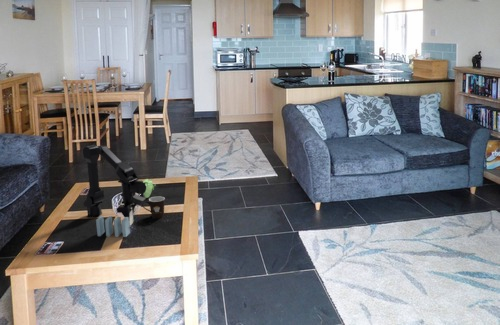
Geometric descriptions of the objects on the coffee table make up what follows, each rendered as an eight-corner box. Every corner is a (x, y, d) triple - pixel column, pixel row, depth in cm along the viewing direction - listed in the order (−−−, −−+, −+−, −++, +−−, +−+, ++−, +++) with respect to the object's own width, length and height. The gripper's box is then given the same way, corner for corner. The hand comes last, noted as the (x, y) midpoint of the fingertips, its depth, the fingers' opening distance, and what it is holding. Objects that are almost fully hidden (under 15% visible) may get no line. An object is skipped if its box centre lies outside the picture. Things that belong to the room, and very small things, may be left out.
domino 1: (97, 236, 224) (95, 220, 222) (101, 231, 229) (100, 216, 227) (100, 236, 224) (99, 220, 222) (104, 232, 229) (103, 216, 227)
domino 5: (127, 225, 237) (125, 210, 235) (130, 221, 242) (129, 206, 239) (130, 225, 237) (128, 210, 235) (133, 221, 242) (132, 206, 239)
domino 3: (115, 236, 223) (113, 220, 221) (118, 232, 228) (117, 216, 226) (118, 236, 223) (116, 220, 221) (122, 232, 228) (120, 216, 226)
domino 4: (123, 236, 223) (121, 220, 221) (126, 232, 228) (125, 217, 226) (126, 237, 223) (124, 220, 221) (129, 232, 228) (128, 217, 226)
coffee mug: (168, 214, 252) (167, 197, 249) (160, 219, 244) (159, 202, 241) (150, 211, 256) (149, 195, 253) (142, 217, 248) (140, 200, 245)
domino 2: (106, 236, 224) (104, 220, 222) (110, 232, 229) (108, 216, 226) (109, 236, 224) (108, 220, 222) (113, 232, 229) (111, 216, 226)
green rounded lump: (154, 200, 274) (153, 183, 271) (136, 200, 274) (135, 183, 271) (158, 193, 286) (157, 177, 283) (140, 194, 286) (139, 177, 283)
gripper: (136, 197, 225) (139, 226, 229) (148, 185, 243) (150, 213, 247) (115, 196, 226) (117, 226, 230) (128, 185, 244) (130, 212, 248)
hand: (129, 219), depth 239 cm, fingers closed on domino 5, 5 cm apart
